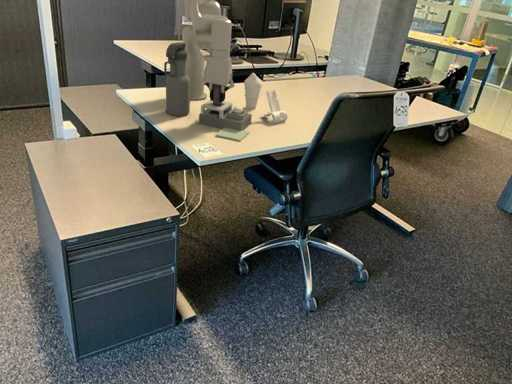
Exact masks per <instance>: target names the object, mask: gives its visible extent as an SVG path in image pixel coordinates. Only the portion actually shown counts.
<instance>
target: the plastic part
mask: <svg viewBox="0 0 512 384" xmlns="http://www.w3.org/2000/svg"><path fill="white" fill-rule="evenodd" d="M265 94H266V96H267V101H268V102H267V103H268V104H269V108H270V111H268V112H267V113H264V114H263V115H262V116H260V117H259V118H260V119H263V118H268V117H270V116H271V117H272V118H271V119H272V120H271V121H269V124H271V123H272V125H275V124H277V123H283V122H284V123H285V122H286V121H287V120H288V114H287V112H286V111H285V110H281V106H280V104H279V99H278V95H277V92H276V90H275V89H274V90H271V91H266V93H265Z"/></svg>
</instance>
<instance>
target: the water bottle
mask: <svg viewBox="0 0 512 384" xmlns="http://www.w3.org/2000/svg"><path fill="white" fill-rule="evenodd" d="M185 47H186V43H183V42H182V41H181V42H179V41H178V42H173V43H171V44H169V45H168V47H167V49H166V51H165V57H166V58H167V61H165V62H164V63H163V65H164V66H163V68H164V69H163V70H164V71H163V72H164V75H165V76H166V78H165V112H166V114H168V115H170V116H172V117H173V116H174V117H183V116H184V117H185V116H188V115H189V114H190V113H191V112H190V110H191V107H190V106H191V100H190V78H189V77H188V76H187V75H186V70H187V52H186V51H185ZM168 64H169V73H168V72H167V65H168Z"/></svg>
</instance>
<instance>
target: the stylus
mask: <svg viewBox="0 0 512 384" xmlns="http://www.w3.org/2000/svg"><path fill="white" fill-rule="evenodd" d="M220 93H221V85H216V84H214V88H213V105H214V106H219V107H221V103H220ZM212 113H213V114H217V115H219V111H216V110H212Z"/></svg>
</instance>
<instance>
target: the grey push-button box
mask: <svg viewBox="0 0 512 384" xmlns="http://www.w3.org/2000/svg"><path fill="white" fill-rule="evenodd" d="M212 110H216V111H219V115H217V114H212ZM233 110H234V108H233V102H231V101H230V102H229V101H226V100H224V101H223V102H222V103H221V107H219V106H214V105H213V101H210V100H208V101H206V102H205V103H203V104H201V105H200V113H199V114H198V124H199V125H203V126H208V127H213V128H217V129H221V130H222V129H223V128H229V129H234V130H239V131H242V130H243V131H245V130H246V129H247V128H248V127H249V126H250V125H251V123H252V116H253V115H252V114H251V113H248V110H243V111H242V114H235V113H233Z"/></svg>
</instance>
